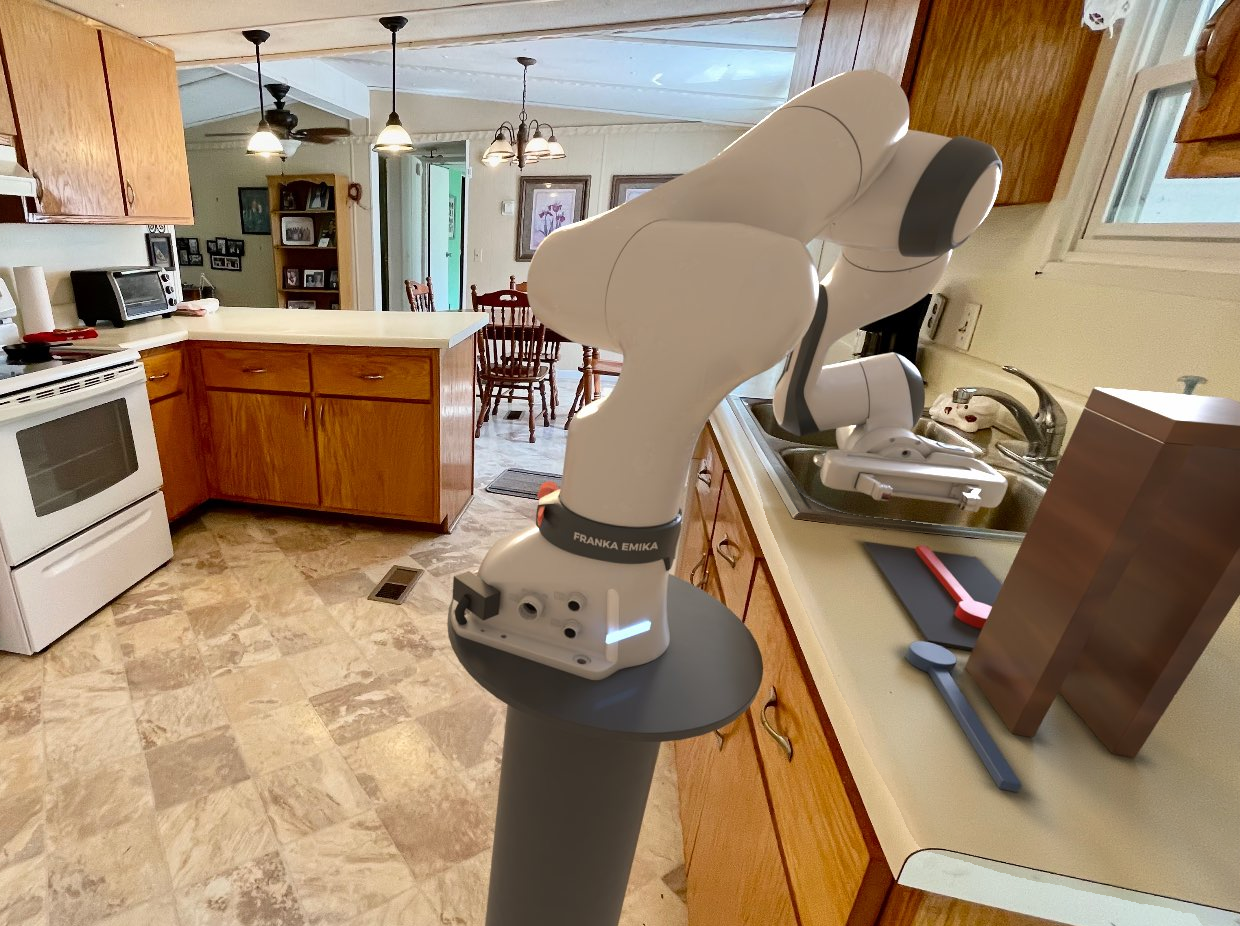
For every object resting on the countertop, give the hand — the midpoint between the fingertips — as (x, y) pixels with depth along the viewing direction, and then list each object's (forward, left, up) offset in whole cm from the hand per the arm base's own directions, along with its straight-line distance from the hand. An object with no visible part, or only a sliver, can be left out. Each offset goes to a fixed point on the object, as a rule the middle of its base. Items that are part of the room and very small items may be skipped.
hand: (927, 500), depth 81 cm
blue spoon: (-7, -35, -6) cm, 36 cm away
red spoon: (0, -12, -5) cm, 13 cm away
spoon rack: (0, -32, -6) cm, 33 cm away
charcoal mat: (0, -14, -6) cm, 15 cm away
